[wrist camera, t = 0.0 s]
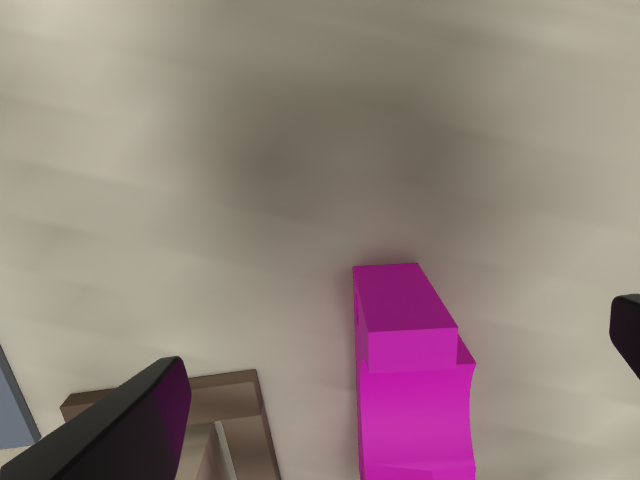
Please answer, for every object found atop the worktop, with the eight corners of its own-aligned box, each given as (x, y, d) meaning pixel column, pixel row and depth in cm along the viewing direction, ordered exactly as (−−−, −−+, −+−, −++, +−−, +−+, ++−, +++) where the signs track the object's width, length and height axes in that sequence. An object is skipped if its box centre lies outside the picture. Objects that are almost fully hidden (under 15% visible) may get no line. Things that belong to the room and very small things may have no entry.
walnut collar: (288, 510, 30) (286, 526, 29) (125, 530, 31) (117, 547, 30) (255, 369, 27) (252, 381, 25) (70, 394, 27) (59, 407, 26)
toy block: (448, 460, 29) (491, 575, 22) (358, 465, 29) (373, 581, 22) (459, 259, 25) (518, 324, 18) (352, 265, 25) (368, 332, 18)
